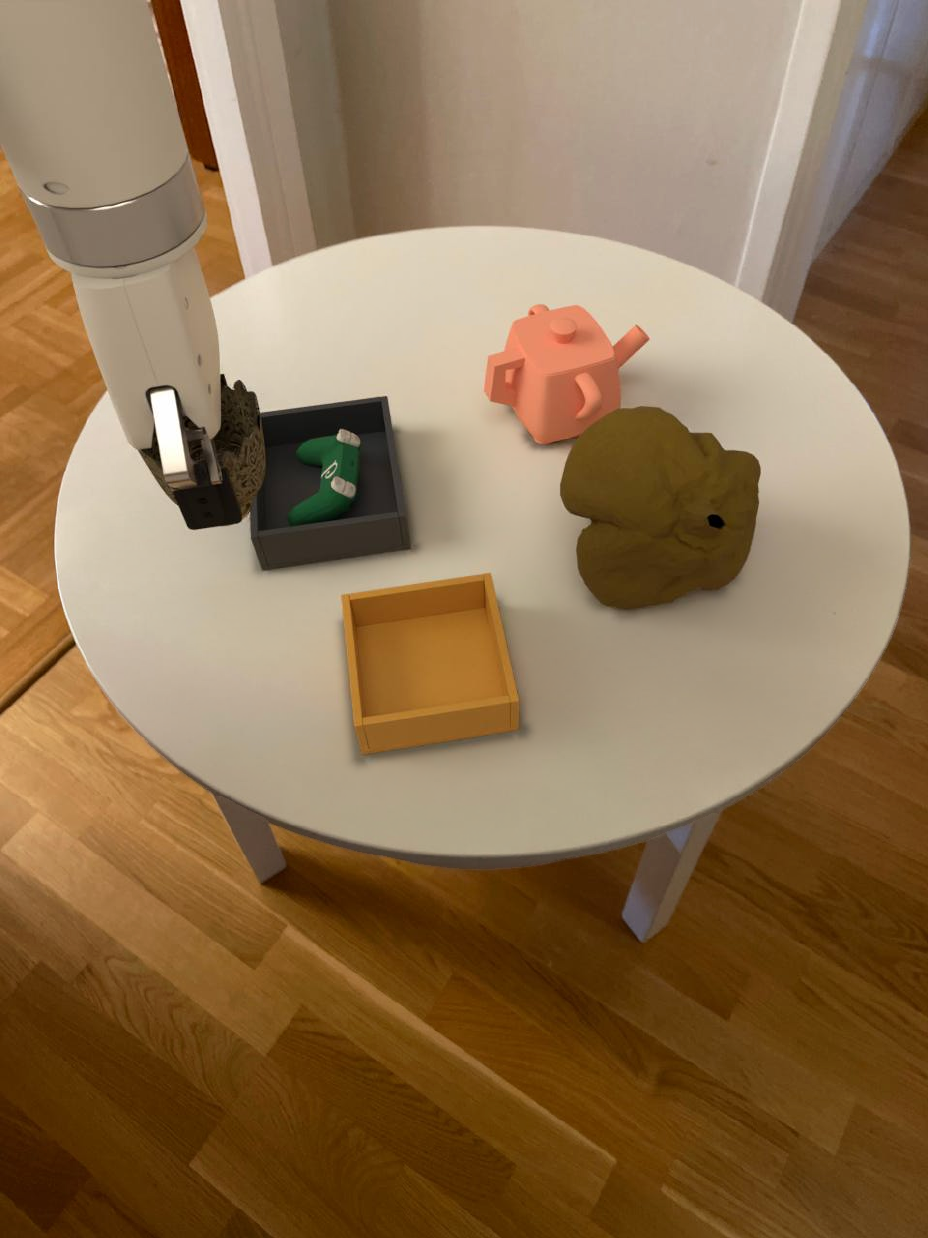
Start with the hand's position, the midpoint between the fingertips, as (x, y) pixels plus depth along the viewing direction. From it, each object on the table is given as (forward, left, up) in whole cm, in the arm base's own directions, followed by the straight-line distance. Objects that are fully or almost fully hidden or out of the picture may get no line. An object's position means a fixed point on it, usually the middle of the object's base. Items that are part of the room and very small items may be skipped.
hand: (214, 473), depth 57 cm
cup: (0, 0, -4) cm, 4 cm away
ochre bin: (+11, -6, -18) cm, 22 cm away
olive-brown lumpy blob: (+30, +1, -18) cm, 35 cm away
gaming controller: (+5, +14, -17) cm, 23 cm away
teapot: (+27, +20, -18) cm, 38 cm away
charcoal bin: (+5, +14, -18) cm, 23 cm away
